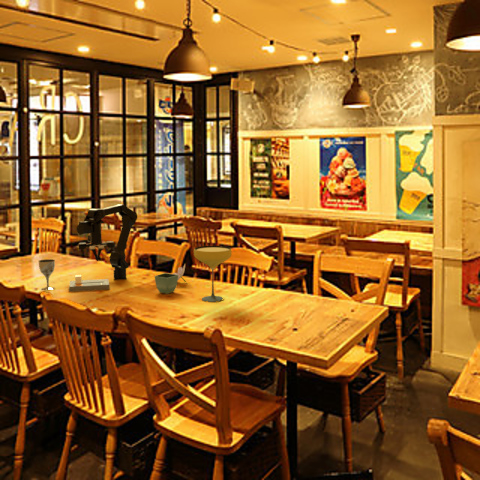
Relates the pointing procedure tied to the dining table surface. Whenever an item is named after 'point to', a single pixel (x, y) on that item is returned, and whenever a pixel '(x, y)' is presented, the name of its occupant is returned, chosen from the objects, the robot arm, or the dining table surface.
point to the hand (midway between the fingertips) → (97, 260)
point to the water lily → (180, 272)
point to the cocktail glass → (212, 262)
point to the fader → (78, 279)
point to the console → (89, 285)
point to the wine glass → (47, 270)
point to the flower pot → (166, 282)
